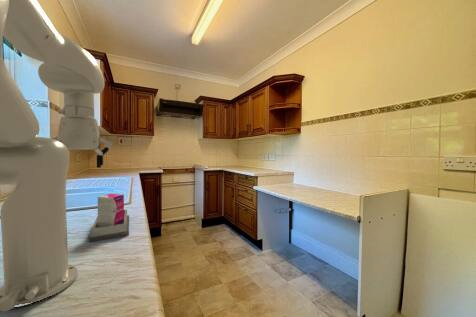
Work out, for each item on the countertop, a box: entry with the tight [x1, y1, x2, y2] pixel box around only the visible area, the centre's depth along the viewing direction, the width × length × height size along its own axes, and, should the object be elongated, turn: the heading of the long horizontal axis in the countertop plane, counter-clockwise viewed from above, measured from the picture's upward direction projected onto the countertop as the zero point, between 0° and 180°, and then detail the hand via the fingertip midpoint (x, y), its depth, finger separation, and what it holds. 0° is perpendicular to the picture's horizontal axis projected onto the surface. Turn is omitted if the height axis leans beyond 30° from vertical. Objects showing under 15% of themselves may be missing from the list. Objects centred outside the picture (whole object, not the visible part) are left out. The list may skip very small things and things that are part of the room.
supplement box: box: [97, 193, 125, 227], centre depth 70 cm, size 6×6×12 cm
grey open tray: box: [88, 209, 130, 243], centre depth 73 cm, size 18×11×8 cm, turn 28°
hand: (81, 168), depth 64 cm, fingers open, 9 cm apart
